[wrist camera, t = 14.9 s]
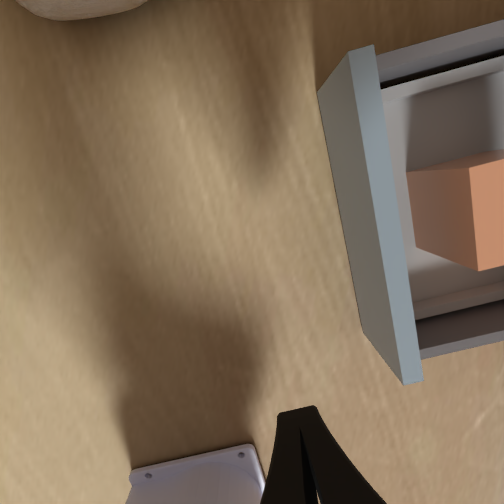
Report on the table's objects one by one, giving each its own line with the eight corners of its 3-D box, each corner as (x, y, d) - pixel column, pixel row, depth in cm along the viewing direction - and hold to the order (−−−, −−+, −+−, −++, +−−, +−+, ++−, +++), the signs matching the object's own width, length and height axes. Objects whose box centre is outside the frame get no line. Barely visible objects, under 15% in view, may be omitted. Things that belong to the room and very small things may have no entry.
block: (416, 247, 18) (478, 271, 13) (405, 172, 17) (468, 167, 12) (491, 228, 18) (583, 245, 13) (485, 151, 17) (582, 138, 12)
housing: (379, 326, 20) (419, 371, 15) (336, 87, 17) (371, 50, 12) (556, 284, 19) (653, 317, 15) (548, 28, 16) (670, -35, 11)
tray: (363, 332, 20) (403, 385, 15) (316, 92, 17) (347, 51, 11) (543, 289, 19) (651, 328, 14) (533, 32, 16) (669, -40, 11)
